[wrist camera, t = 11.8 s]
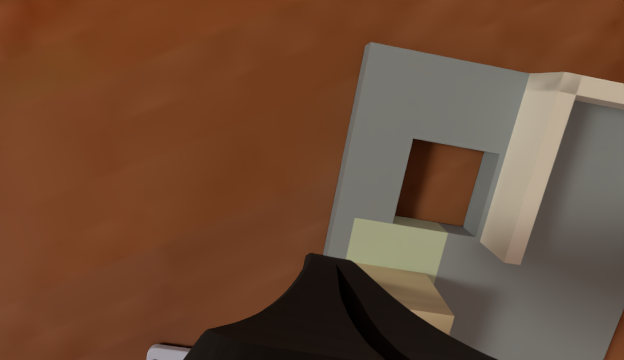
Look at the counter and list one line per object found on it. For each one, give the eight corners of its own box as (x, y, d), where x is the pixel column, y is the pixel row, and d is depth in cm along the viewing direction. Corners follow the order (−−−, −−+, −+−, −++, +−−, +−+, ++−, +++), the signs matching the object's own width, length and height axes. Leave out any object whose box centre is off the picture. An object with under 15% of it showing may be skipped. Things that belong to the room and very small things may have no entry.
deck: (578, 355, 24) (597, 373, 23) (310, 317, 23) (311, 333, 22) (674, 106, 21) (704, 108, 19) (365, 45, 20) (371, 42, 18)
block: (407, 338, 22) (431, 392, 18) (337, 328, 22) (346, 381, 18) (425, 273, 21) (454, 316, 17) (352, 261, 21) (365, 302, 17)
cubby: (640, 267, 21) (684, 291, 19) (479, 241, 21) (504, 262, 18) (704, 108, 19) (763, 111, 17) (529, 73, 19) (564, 71, 16)
